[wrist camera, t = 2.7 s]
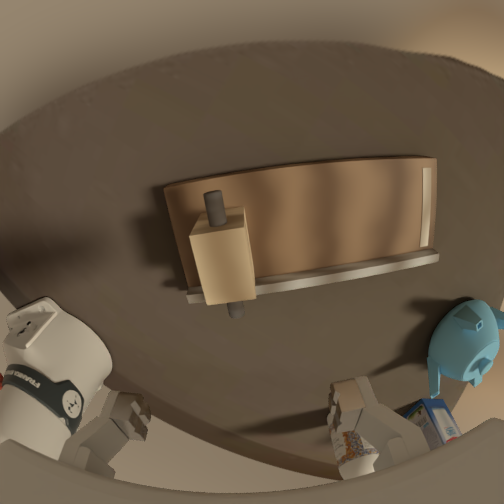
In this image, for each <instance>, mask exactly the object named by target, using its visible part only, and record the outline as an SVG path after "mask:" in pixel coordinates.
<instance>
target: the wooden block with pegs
mask: <svg viewBox="0 0 504 504" xmlns="http://www.w3.org/2000/svg"><path fill="white" fill-rule="evenodd" d="M203 197H204V202H205V207H206V213H201V214H200V216H199V218H198V220H197V222H196V224H195V226H194V228H193V229H192V231H191V233H190V235H189V238H190V242H191V246H192V250H193V254H194V258H195V262H196V266H197V270H198V273H199V277H200V281H201V285H202V288H203V292H204V296H205V299H206V303H207V305H213V304H221V303H227V307H228V311H229V315H230V317H231V318H240V317H242V316H244V314H245V311H244V306H243V301H244V300H251V299H256V290H255V277H254V265H253V259H252V253H251V247H250V241H249V234H248V228H247V222H246V216H245V210H244V206H243V207H237V208H230V209H225V207H224V202H223V196H222V191H221V190H214V191H209V192H206V193H204V194H203Z"/></svg>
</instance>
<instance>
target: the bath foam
mask: <svg viewBox="0 0 504 504" xmlns="http://www.w3.org/2000/svg"><path fill="white" fill-rule="evenodd" d="M333 418H334V416H333V415H332V414H331V413H329V414H328V416H327V423H328V427H329V431H330V435H331V439H332V443H333V447H334V452H335V456H336V460H337V464H338V469H339V472H340V474H341V476H342V477H343V479H344V480H347V479H351V478H355V477H358V476H362V475H366V474H369V473H372V472H375V471H374V467H373V463H374V462H375V460H376V459H377V457H378V456H379V453H378V450H376V449H375V448H374V447H373V446H372V445H371V444H369V443H368V442H367V441H366V440H365V439H364V438H362V437H361V436H360V435H359V434H358V433H357V432H356V431H355V430H351V431H347V432H342V433H336V432H335V428H334V425H333Z"/></svg>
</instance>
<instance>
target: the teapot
mask: <svg viewBox="0 0 504 504" xmlns="http://www.w3.org/2000/svg"><path fill="white" fill-rule="evenodd" d="M498 329H504V312H502V311H500V310H497V309H495V308H493V307H489V306H488V305H487V304H486V303H485V302H484V301H482V300H470V301H466V302H463V303H461V304H459V305H457V306H456V307H454V308H453V309H452V310H451V311H449V312H448V313H447V314H446V315H445V317H444V318H443V319H442V320H441V321H440V323H439V324H438V325H437V327H436V329H435V330H434V332H433V334H432V337H431V340H430V345H429V351H428V358H427V365H428V375H429V388H430V397H431V399H432V398H434V397H435V396H437V395H438V394H440V393H439V385H440V374H443V375H445V376H447V377H449V378H452V379H456V380H460V381H469V382H470V383H471V384H472V385H473V386H474V387H475V386H477V385H478V384H479V383H481V382H482V375H484V374H485V373H486V372H488V371H489V369H490V368H491V367H492V365H493V359H494V358H495V356H496V354H497V352H498V349H499V333H498Z"/></svg>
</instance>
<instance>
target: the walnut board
mask: <svg viewBox="0 0 504 504" xmlns="http://www.w3.org/2000/svg"><path fill="white" fill-rule="evenodd" d="M163 189H164V194H165V198H166V202H167V207H168V211H169V215H170V219H171V223H172V227H173V231H174V235H175V239H176V243H177V247H178V251H179V255H180V258H181V262H182V266H183V269H184V273H185V276H186V280H187V283H188V287H189V289H188V292H187V295H186V296H187V299H188V302H189V304H190V303H199V302H206V299H205V296H204V292H203V288H202V285H201V281H200V277H199V273H198V270H197V266H196V262H195V258H194V254H193V250H192V246H191V242H190V238H189V235H190V233H191V231H192V229H193V228H194V226H195V224H196V222H197V220H198V218H199V216H200V214H201V213H206V207H205V202H204V197H203V194H204V193H206V192H209V191H214V190H221V191H222V196H223V202H224V207H225V209H230V208H237V207H243V206H244V210H245V216H246V222H247V228H248V234H249V241H250V247H251V253H252V259H253V265H254V277H255V290H256V295H259V294H266V293H273V292H280V291H286V290H293V289H299V288H305V287H311V286H317V285H323V284H329V283H334V282H340V281H345V280H351V279H356V278H361V277H367V276H372V275H377V274H382V273H387V272H392V271H397V270H402V269H406V268H411V267H416V266H420V265H425V264H429V263H434V262H438V260H439V253H438V252H437V251H435V250H434V249H433V239H434V229H435V216H436V195H437V158H432V157H427V156H402V157H373V158H355V159H341V160H328V161H317V162H307V163H298V164H289V165H281V166H273V167H266V168H259V169H252V170H245V171H239V172H233V173H227V174H221V175H215V176H209V177H204V178H199V179H194V180H189V181H184V182H179V183H174V184H169V185H168V186H166V187H165V188H163Z"/></svg>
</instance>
